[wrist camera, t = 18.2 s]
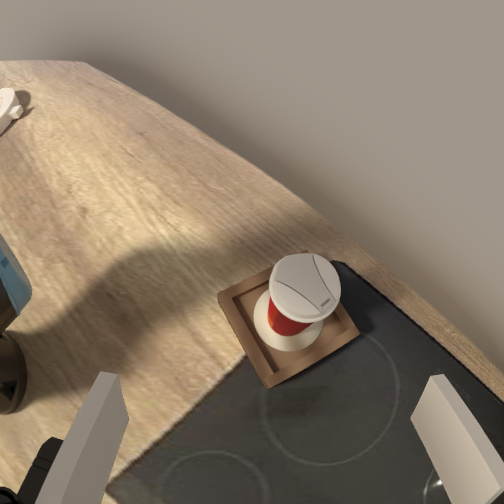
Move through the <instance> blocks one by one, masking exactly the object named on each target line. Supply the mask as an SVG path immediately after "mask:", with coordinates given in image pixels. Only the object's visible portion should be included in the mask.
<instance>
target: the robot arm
mask: <svg viewBox="0 0 504 504" xmlns="http://www.w3.org/2000/svg"><path fill="white" fill-rule="evenodd" d="M31 296H32V287H31V284H30V281H29V279H28V277H27V275H26V273H25V272H24V270H23V268H22V267H21V265H20V263H19V262H18V260H17V258H16V257H15V255H14V254H13V252H12V250H11V249H10V247H9V246H8V244H7V243H6V241H5V240H4V238H3V237H2V235H1V234H0V414H1V415H3V414H8V413H10V412H12V411H14V410H15V409H16V408H17V407H18V405H19V404H20V402H21V401H22V398H23V396H24V393H25V389H26V380H27V373H26V365H25V360H24V357H23V354H22V352H21V350H20V348H19V346H18V345H17V343H16V342H15V341H14V340H13V339H12V338H11V337H10V336H9V335H7V334H5V333H3V331H4V330H5V329H6V328H7V327H8V326H9V325H10V324H11V323H12V322H13V321H14V320H15V318H16V317H17V316H19V315H20V312H21V311H22V309H23V308H24V307H25V306H26V304H27V303H28V302H29V301H30V299H31ZM410 419H411V421H412V423H413V424H414V426H415V428H416V430H417V432H418V434H419V436H420V438H421V440H422V442H423V444H424V446H425V448H426V450H427V452H428V454H429V456H430V458H431V460H432V462H433V464H434V467H435V469H436V471H437V473H438V475H439V477H440V479H441V481H442V483H443V486H444V488H445V490H446V492H447V494H448V496H449V499H450V501H451V503H452V504H504V447H503V446H501V445H502V444H501V443H500V441H499V440H498V438H497V437H496V436H495V435H494V434H493V433H491V432H490V431H489V430H485V431H483V430H482V428H481V427H480V425H479V424H478V422H477V421H476V419H475V418H474V416H473V415H472V413H471V412H470V410H469V409H468V408H467V406H466V405H465V403H464V402H463V400H462V399H461V398H460V396H459V395H458V393H457V392H456V391H455V389H454V388H453V386H452V385H451V384H450V382H449V381H448V380H447V378H446V377H445V376H444V374H441V375H434V376H430V378H429V381H428V383H427V385H426V387H425V389H424V392H423V394H422V396H421V398H420V400H419V402H418V404H417V406H416V408H415V410H414V412H413V414H412V416H411V418H410ZM128 421H129V417H128V413H127V410H126V406H125V402H124V399H123V395H122V391H121V387H120V383H119V378H118V374H114V373H108V372H102V371H100V373H99V375H98V377H97V378H96V380H95V382H94V384H93V386H92V388H91V389H90V391H89V393H88V395H87V397H86V399H85V401H84V402H83V404H82V406H81V408H80V410H79V412H78V414H77V416H76V418H75V420H74V422H73V424H72V425H71V427H70V429H69V431H68V433H67V435H66V437H65V439H64V440H61V439H57V438H54V437H51V438H50V439H48V440H47V441H46V442H45V443H44V444H42V446H41V448H40V450H39V452H38V454H37V457H35V459H34V461H33V463H32V466H31V467H30V469H29V471H28V473H27V475H26V477H25V479H24V481H23V483H22V485H21V487H20V489H19V492H18V494H17V495H16V494H15V493H14V492H13V491H12V490H11V489H9V488H6V487H0V504H101V501H102V498H103V495H104V492H105V488H106V485H107V482H108V479H109V476H110V473H111V470H112V467H113V464H114V461H115V458H116V455H117V452H118V449H119V446H120V444H121V441H122V438H123V435H124V432H125V429H126V427H127V424H128Z"/></svg>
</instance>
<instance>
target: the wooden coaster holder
mask: <svg viewBox="0 0 504 504" xmlns="http://www.w3.org/2000/svg"><path fill="white" fill-rule="evenodd" d="M301 253H308V251H307V250H306V251H304V252H301ZM301 253H299V254H301ZM273 268H274V266H273V267H271V268H269V269H267V270H265V271H263V272H261V273H258V274H256V275H254V276H252V277H250V278H248V279H246V280H244V281H242V282H240V283H238V284H236V285H233V286H231V287H229V288H227V289H225V290H223V291H221V292H219V293H217V297H218V303H219V304H220V306H221V308H222V310H223V312H224V314H225V316H226V318H227V320H228V321H229V323H230V325H231V327H232V329H233V331H234V333H235V334H236V336H237V338H238V340H239V342H240V344H241V345H242V347H243V349H244V351H245V353H246V354H247V356H248V358H249V360H250V362H251V363H252V365H253V367H254V369H255V371H256V372H257V374H258V376H259V378H260V379H261V381H262V383H263V385H264V386H265V388H266V390H267V389H269V388H271V387H273V386H275V385H277V384H279V383H280V382H282V381H284V380H286V379H288V378H289V377H291V376H293V375H295V374H296V373H298V372H300V371H302V370H303V369H305V368H307V367H308V366H310V365H312V364H314V363H315V362H317V361H319V360H320V359H322V358H323V357H325V356H327V355H328V354H330V353H332V352H333V351H335V350H336V349H338V348H339V347H341V346H343V345H344V344H346V343H347V342H349V341H350V340H352V339H353V338H355V337H356V336H358V335H359V334H360V333H359V331H358V329H357V328H356V326H355V325H354V323H353V321H352V320H351V318H350V316H349V315H348V313H347V312H346V310H345V309H344V307H343V305H342V304H341V302H340V301H339V302H338V304H337V306H336V308H335V309H334V311H333V312H332V313H331V314H330V315H329V316H327V317H326V318H324V319H322V320H320V321H316V322H314V323H313V324H311V325H310V326H309V327H307V328H306V329H304V330H303V331H301V332H300V333H298V334H296V335H294V336H281V335H279V334H277V333H275V332H274V331H273V330H272V329H271V327H270V325H269V323H268V318H267V314H268V306H269V299H270V291H269V281H270V276H271V274H272V271H273Z"/></svg>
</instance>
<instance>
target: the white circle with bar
mask: <svg viewBox="0 0 504 504" xmlns="http://www.w3.org/2000/svg"><path fill="white" fill-rule="evenodd" d="M0 106H1V108H0V134H1V133H2V132H3V131H4V130H5V129H6V128H7V127H8V125H9V124H10V123H11V121H12V120H13V119H17V118H19V117H20V116H21V114H22V113H23V111H24V110H23V108H22V106H21V105H19V100H18V98H17V96H16V94H15V92H14V90H13V89H12V88H2V89H0Z"/></svg>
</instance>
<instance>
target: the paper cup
mask: <svg viewBox="0 0 504 504" xmlns="http://www.w3.org/2000/svg"><path fill="white" fill-rule="evenodd" d="M269 291H270V299H269V306H268V314H267V318H268V323H269V325H270V327H271V329H272V330H273V331H274V332H275V333H277V334H279V335H281V336H294V335H296V334H298V333H300V332H301V331H303V330H304V329H306V328H307V327H309V326H310V325H311V324H313V323H314V322H316V321H320V320H322V319H324V318H326V317H327V316H329V315H330V314H331V313H332V312H333V311H334V309H335V308H336V306H337V304H338V302H339V299H340V294H341V286H340V281H339V277H338V274H337V272H336V270H335V268H334V267H333V266H332V265H331V264H330V263H329V262H328V261H327V260H326V259H324V258H323V257H321V256H319V255H316V254H313V253H301V254H292V255H289V256H285V257H284V258H282V259H281V260H279V261H278V262H277V263H276V265H275V266H274V268H273V271H272V274H271V276H270V281H269Z"/></svg>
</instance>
